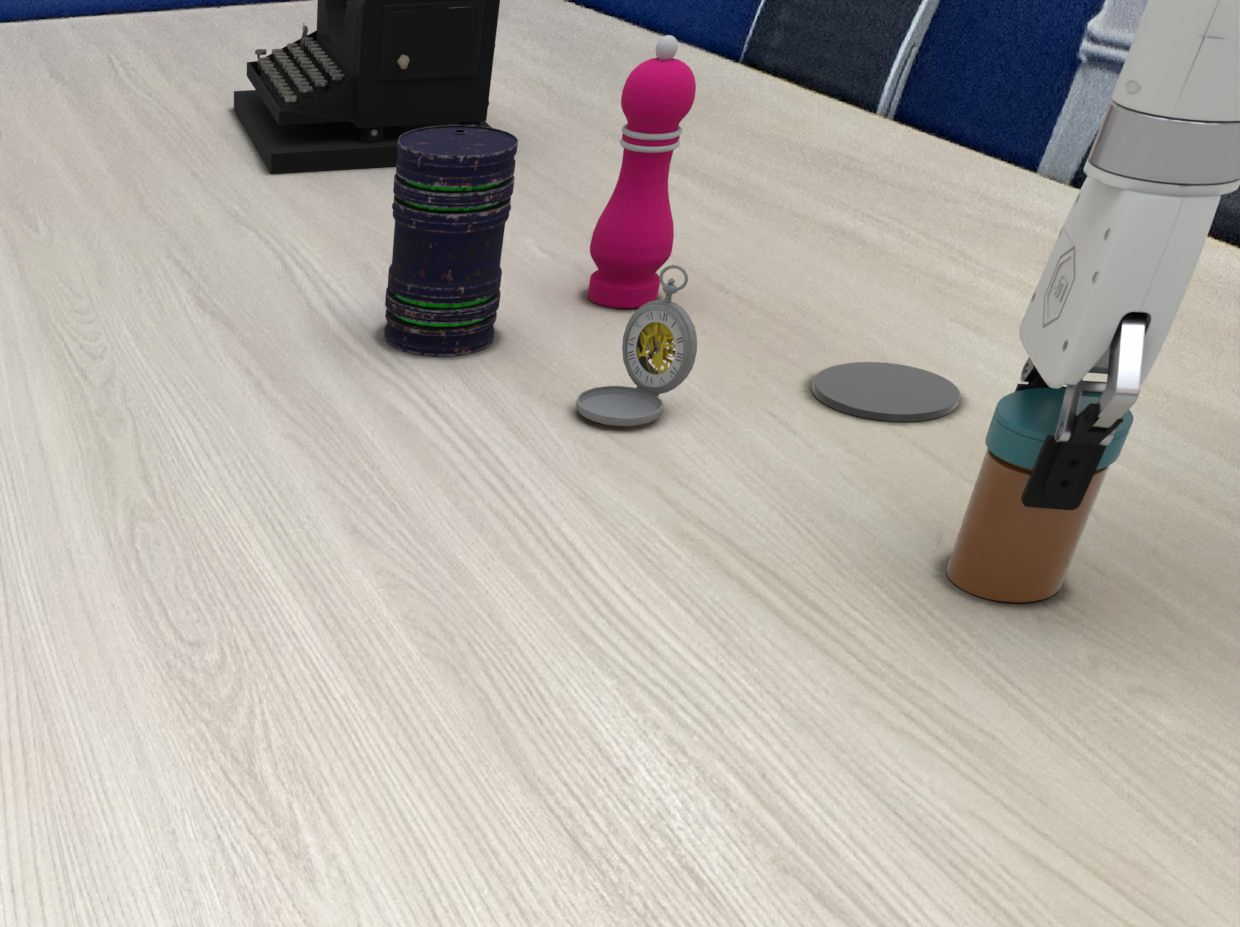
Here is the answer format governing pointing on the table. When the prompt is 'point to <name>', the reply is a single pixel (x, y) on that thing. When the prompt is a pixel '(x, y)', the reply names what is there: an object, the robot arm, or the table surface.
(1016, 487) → the jam jar
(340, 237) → the table surface
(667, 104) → the pepper mill
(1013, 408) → the jam lid
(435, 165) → the dark blue cylinder
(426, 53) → the typewriter
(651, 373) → the pocket watch
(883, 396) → the coaster
